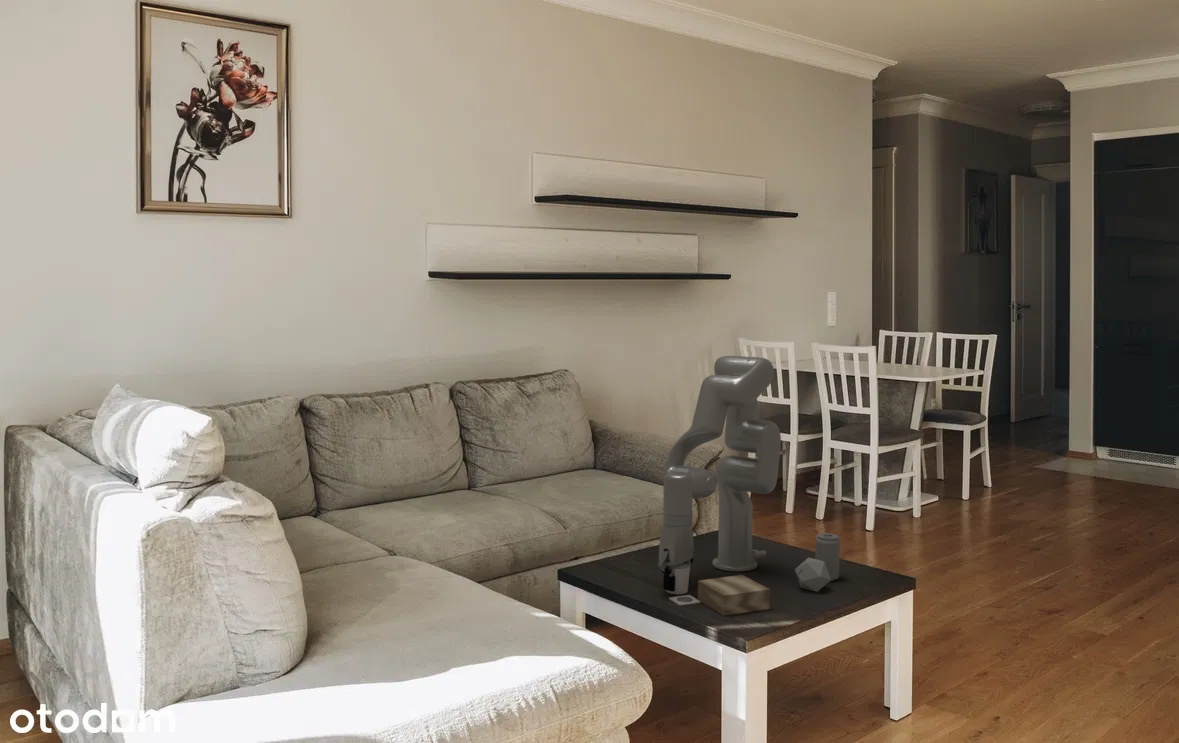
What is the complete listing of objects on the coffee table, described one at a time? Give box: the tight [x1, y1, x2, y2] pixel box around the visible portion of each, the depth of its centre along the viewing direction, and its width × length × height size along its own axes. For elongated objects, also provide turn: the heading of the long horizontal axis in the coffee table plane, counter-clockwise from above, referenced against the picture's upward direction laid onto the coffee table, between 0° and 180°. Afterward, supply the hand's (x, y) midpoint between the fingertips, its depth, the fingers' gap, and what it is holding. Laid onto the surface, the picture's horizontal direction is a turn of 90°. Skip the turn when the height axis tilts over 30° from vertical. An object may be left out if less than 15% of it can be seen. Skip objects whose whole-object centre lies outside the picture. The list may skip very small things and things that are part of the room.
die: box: [794, 557, 831, 593], centre depth 257 cm, size 8×9×10 cm
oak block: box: [697, 574, 771, 617], centre depth 244 cm, size 13×13×5 cm
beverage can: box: [814, 532, 841, 582], centre depth 266 cm, size 6×6×12 cm
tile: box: [668, 594, 702, 607], centre depth 247 cm, size 6×6×1 cm
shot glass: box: [665, 561, 691, 595], centre depth 255 cm, size 7×7×7 cm
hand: (676, 586), depth 255 cm, fingers closed on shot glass, 6 cm apart
